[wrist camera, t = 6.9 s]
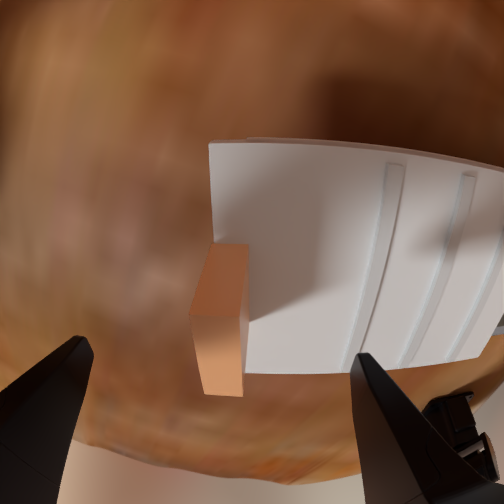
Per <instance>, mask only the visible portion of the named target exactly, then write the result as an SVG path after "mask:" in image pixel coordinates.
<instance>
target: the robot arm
mask: <svg viewBox="0 0 504 504" xmlns="http://www.w3.org/2000/svg"><path fill="white" fill-rule="evenodd" d="M93 359H94V353H93V350H92V348H91V346H90V344H89V342H88V340H87V338H86V337H84V336H78V335H75V336H73V337H72V338H71V339H69V340H68V341H66V342H65V343H64V344H62V345H61V346H60V347H58V348H57V349H56V350H54V351H53V352H52V353H50V354H49V355H48V356H46V357H45V358H44V359H42V360H41V361H40V362H38V363H37V364H36V365H34V366H33V367H32V368H31V369H29V370H28V371H27V372H25V373H24V374H23V375H21V376H20V377H19V378H17V379H16V380H15V381H14V382H12V383H11V384H10V385H8V386H7V387H6V388H5V389H3V390H2V391H1V392H0V504H56V503H57V498H58V494H59V488H60V484H61V479H62V475H63V471H64V467H65V462H66V459H67V455H68V451H69V447H70V443H71V440H72V436H73V433H74V429H75V426H76V422H77V419H78V416H79V413H80V409H81V406H82V403H83V400H84V397H85V393H86V389H87V385H88V380H89V376H90V371H91V367H92V363H93ZM350 382H351V397H352V413H353V422H354V427H355V433H356V439H357V446H358V452H359V458H360V465H361V472H362V479H363V486H364V494H365V502H366V504H504V485H502V484H499V483H495V482H496V481H498V480H500V477H499V471H498V465H497V461H496V456H495V452H494V449H493V446H492V443H491V441H490V438H489V437H488V435H487V434H486V433H485V432H483V433H482V434H480V436H479V435H478V433H477V430H476V427H475V425H476V422H475V420H474V417H473V414H472V412H471V409H470V406H469V404H468V403H469V401H470V400H471V399H472V398H473V397H474V393H473V392H469V393H465V394H461V395H457V396H452V397H447V398H443V399H438V400H433V401H431V402H429V403H428V405H427V406H426V407H425V409H424V410H423V411H422V413H421V412H420V411H419V410H418V409H417V407H416V406H415V405H414V404H413V403H412V401H411V400H410V399H409V398H408V397H407V396H406V394H405V393H404V392H403V391H402V390H401V389H400V387H399V386H398V385H397V384H396V383H395V382H394V381H393V379H392V378H391V377H390V376H389V375H388V374H387V372H386V371H385V370H384V369H383V368H382V367H381V366H380V364H379V363H378V362H377V361H376V360H375V359H374V357H373V356H372V355H371V354H370V353H368V352H364V353H357V354H356V355H355V358H354V361H353V364H352V366H351V369H350ZM483 447H484V449H485V450H483V451H482V452H480V451H479V450H480V449H482V448H483Z"/></svg>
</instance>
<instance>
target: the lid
mask: <svg viewBox="0 0 504 504" xmlns="http://www.w3.org/2000/svg"><path fill="white" fill-rule="evenodd" d="M209 163H210V183H211V201H212V217H213V232H214V243H212V244H211V247H210V250H209V253H208V256H207V259H206V262H205V265H204V268H203V271H202V274H201V277H200V280H199V283H198V287H197V290H196V293H195V296H194V299H193V302H192V305H191V309H190V312H189V319H190V324H191V330H192V335H193V341H194V346H195V351H196V356H197V361H198V366H199V371H200V375H201V380H202V385H203V389H204V394H211V395H223V396H239V397H243V391H244V379H245V373H265V374H323V373H349V372H350V369H351V366H352V364H353V361H354V358H355V355H356V354H357V353H364V352H368V353H370V354H371V355H372V356H373V357H374V359H375V360H376V361H377V362H378V363H379V364H380V366H381V367H382V368H383V369H384V370H391V369H401V368H410V367H419V366H427V365H434V364H441V363H448V362H454V361H460V360H466V359H471V358H477V357H479V355H480V354H481V352H482V350H483V349H484V347H485V346H486V344H487V342H488V341H489V339H490V337H491V335H492V334H493V332H494V330H495V328H496V327H497V325H498V323H499V321H500V319H501V317H502V315H503V314H504V168H502V167H498V166H494V165H490V164H485V163H481V162H477V161H472V160H467V159H463V158H458V157H453V156H448V155H442V154H437V153H431V152H425V151H419V150H412V149H406V148H399V147H391V146H383V145H375V144H366V143H356V142H345V141H333V140H318V139H300V138H270V137H247V139H246V140H212V141H211V142H210V143H209Z"/></svg>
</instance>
